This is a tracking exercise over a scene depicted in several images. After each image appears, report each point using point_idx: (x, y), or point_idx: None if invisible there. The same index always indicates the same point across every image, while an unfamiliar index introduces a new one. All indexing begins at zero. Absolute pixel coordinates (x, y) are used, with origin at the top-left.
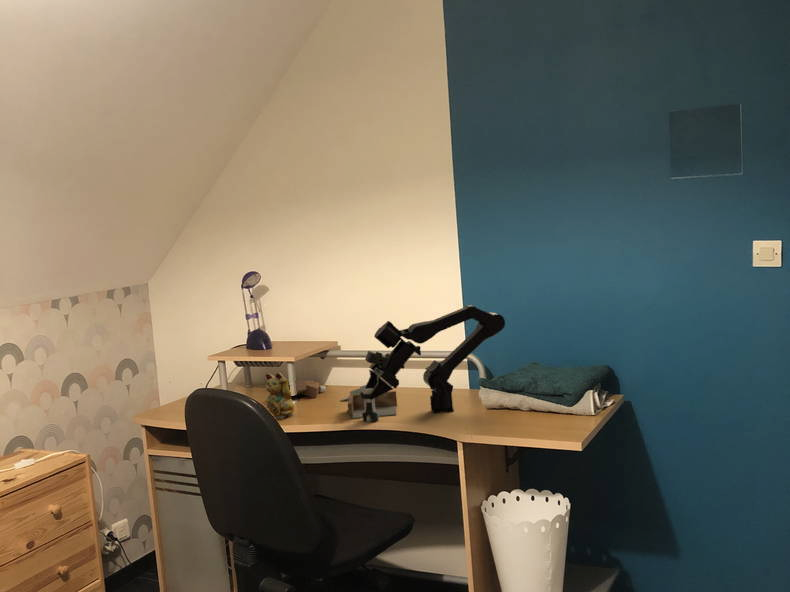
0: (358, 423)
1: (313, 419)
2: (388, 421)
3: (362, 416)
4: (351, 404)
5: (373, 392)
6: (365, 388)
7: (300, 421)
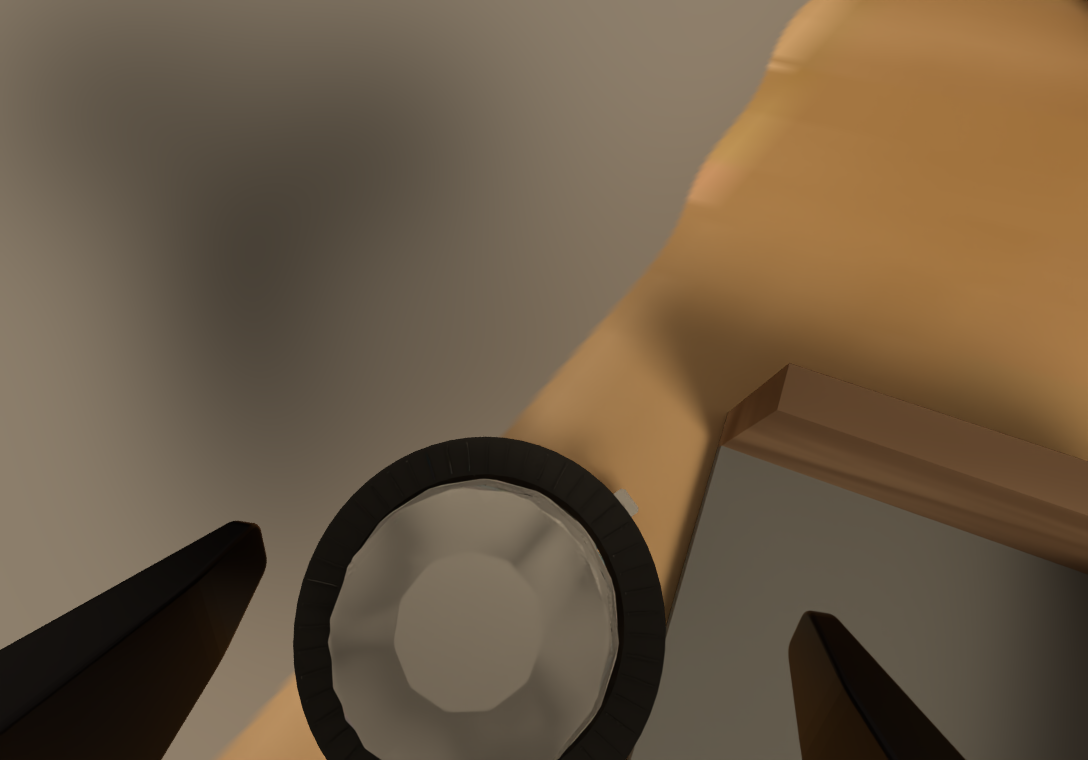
0: None
1: (929, 158)
2: None
3: (713, 552)
4: (782, 416)
5: (83, 621)
6: (840, 681)
7: (918, 65)
